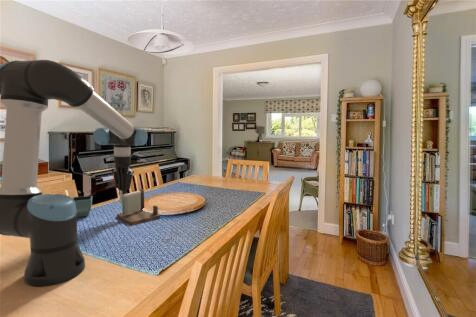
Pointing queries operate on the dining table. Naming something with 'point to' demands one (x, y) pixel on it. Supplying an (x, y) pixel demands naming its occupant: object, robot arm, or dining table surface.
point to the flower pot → (83, 205)
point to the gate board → (140, 214)
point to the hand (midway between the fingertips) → (122, 202)
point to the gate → (131, 202)
